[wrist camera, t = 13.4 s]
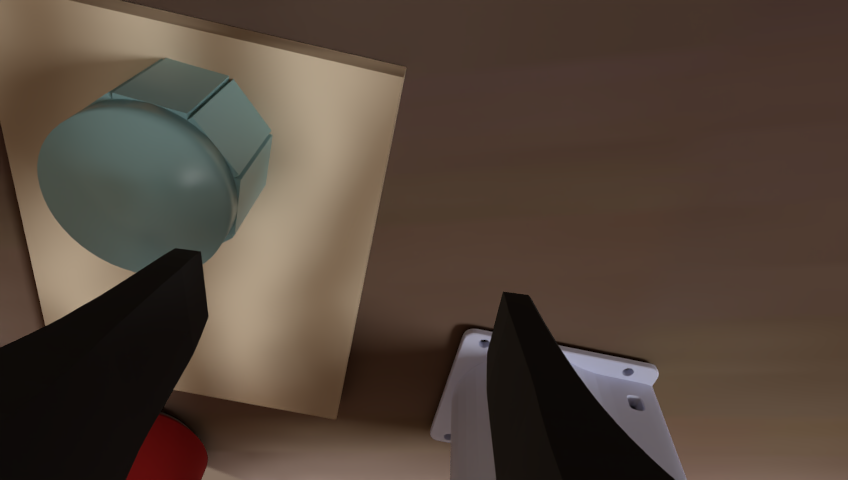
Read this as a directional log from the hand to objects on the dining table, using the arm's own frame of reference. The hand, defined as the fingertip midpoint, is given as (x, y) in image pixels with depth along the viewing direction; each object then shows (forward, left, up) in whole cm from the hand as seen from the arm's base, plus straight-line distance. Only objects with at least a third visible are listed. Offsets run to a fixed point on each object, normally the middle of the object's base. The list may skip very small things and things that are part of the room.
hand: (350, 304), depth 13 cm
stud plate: (+7, +6, -9) cm, 13 cm away
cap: (+7, +1, -8) cm, 11 cm away
